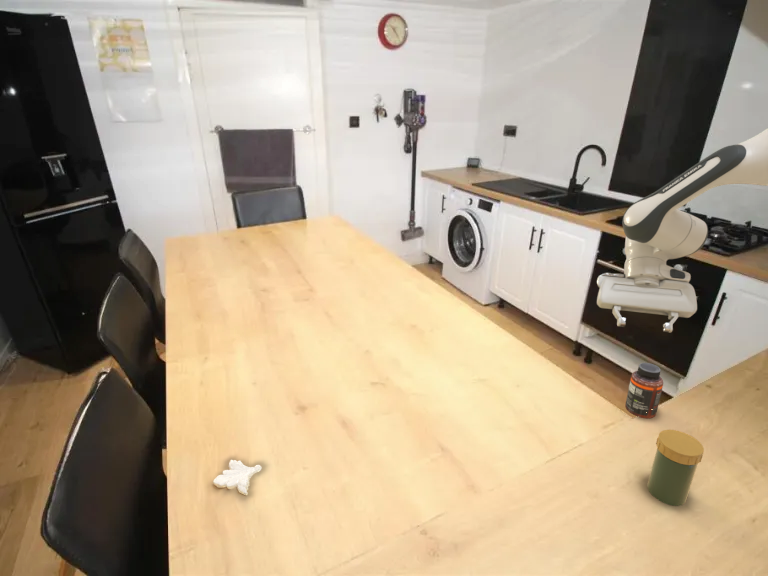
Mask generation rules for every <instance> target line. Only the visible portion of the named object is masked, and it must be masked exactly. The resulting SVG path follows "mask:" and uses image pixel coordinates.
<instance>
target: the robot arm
mask: <svg viewBox="0 0 768 576" xmlns="http://www.w3.org/2000/svg"><path fill="white" fill-rule="evenodd" d="M727 185H754V186H755V185H756V186H762V187H764V186H765V187H766V186H767V187H768V127H767V128H765V129H764V130H762V131H761V132H760V133H757V134H756V135H754V136H752V137H750V138H748V139H746V140H743V141H742V142H739V143H736V144H731V145H727V146H724V147H721V148H720V149H717V150H716V151H714V152H712V153H711V154H709V155H707V156H706V157H705V158H703V159H701V160H700V161H699V162H697V163H696V164H694V165H693V166H691V167H690V168H688V169H687V170H685V171H684V172H682V173H681V174H679V175H678V176H677V177H675V178H674V179H672V180H670V181H669V182H668V183H666V184H665V185H663V186H662V187H660V188H659V189H657V190H656V191H654V192H653V193H650V194H649V195H647V196H644V197H642V198H640V199H638V200H637V201H635V202H633V203H632V204H631V205H630V206H629V207H627V209H626V210H625V212H624V214H623V216H622V221H621V223H622V224H621V225H622V229H623V232H624V235H625V242H624V254H625V258H626V259H625V262H624V266H623V273H611V272H604V273H602V274H600V275H598V277H597V279H596V284H597V287H598V288H599V289H598V292H597V297H596V305H597V306H598V307H599V308H601V309H606V310H607V309H608V310H612V312H611V313H612V314H613V316H614V319H616V325H617V327H620V328H621V327H622V328H625V327H626V323H627V322H626V321H627V318H626V317H622V314H621V311H626V312H634V313H644V314H652V315H660V316H668V317H667V318H668V320H670V321H668V322H664V323H663V324H662V332H664V333H670V334H671V333H672V332H673V331H674V327H673V324H674V323H675V322H676V321H677V319H679V318H685V319H688V318H691V317H692V316H693V315H694V314H696V313H697V311H698V302H697V296H696V295H697V294H696V291H695V288H694V286H693V285H692V284H691V283H690V281H691V279H692V278H691V277H692V276H691V273H689V272H687V271H684V270H682V269H678V268H676V267H672V266H671V265H668V264H667V261H668V260H676V259H681V258H684V257H687V256H691V255H693V254H695V253H697V252H698V251H700V250H701V249H702V248H703V247H704V245H705V243H706V242H707V240H708V236H709V227H708V225H707V223H706V221H705V220H702V219H701V218H699V217H697V216H695V215H693V214H691V213H688V212H686V211H683V210H681V209H680V208H682V207H683V206H685V205H686V204H688V203H690V202H691V201H693V200H695V199H696V198H697V197H699V196H701V195H703V194H704V193H706V192H708V191H710V190H711V189H714V188H718V187H720V186H727Z"/></svg>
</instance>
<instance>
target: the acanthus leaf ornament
mask: <svg viewBox="0 0 768 576" xmlns="http://www.w3.org/2000/svg"><path fill="white" fill-rule="evenodd" d="M262 467H263V466H261V465H260V464H256V465H255V466H247V465H245V464H244V463H243V462H242V460H238V461H237V460H236V459H230V460H229V463H228V469H224V470H222V471H221V474H218V475H217V476H216V477H215V478H214V479H213V480H212V483H213V485H214V486H216V488H218V489H219V488H220V489H222V488H223V489H225V488H227V489H228V490H233V489H235V488H236V487H237V491H238V493H240V494H242V495H244V496H248V494H249V493H248V491H249V487H250V480H251V479H252V477H253V476H254V475H255V474H256V473H258V472H260V471H262V470H263V469H262Z"/></svg>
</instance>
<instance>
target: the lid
mask: <svg viewBox="0 0 768 576" xmlns="http://www.w3.org/2000/svg"><path fill="white" fill-rule="evenodd" d="M655 445H656V449H657V448H658V450H659V451H660V452H661V453H662V454H663V455H664V456H665V457H667V458H669V459H670V460H672V461H675V462H677V463H680V464H685V465H696V464H700V463H701V462H702V458H703V455H704V452H705V448H704V446H703V444H702V443H701V442H700V441H699V440H698V439H697V438H695V437H694V436H692V435H690V434H688V433H686V432H683V431H680V430H676V429H675V430H674V429H663V430H661V431H660V432H659V433H658V436H657V439H656V442H655Z"/></svg>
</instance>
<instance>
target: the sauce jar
mask: <svg viewBox="0 0 768 576" xmlns="http://www.w3.org/2000/svg"><path fill="white" fill-rule="evenodd" d="M698 464H699V463H698ZM698 464H696V465H685V464H680V463H677V462H675V461H672V460H670V459H669V458H667V457H665V456H664V455H663V454H662V453H661V452H660V451H659V450H658V448H657V447H656V451H655V454H654V458H653V461H652V466H651V468H650V473H649V475H648V479H647V484H646V488H647V490H648V492H649V493H650V495H651V496H652V497H653V498H655V499H656V500H658V501H660V502H661V503H663V504H666V505H668V506H673V507H681V506H683V505H685V504H686V502H687V501H688V500H687V499H688V496H689V493H690V490H691V486H692V484H693V481H694V477H695V474H696V471H697V469H698Z"/></svg>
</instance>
